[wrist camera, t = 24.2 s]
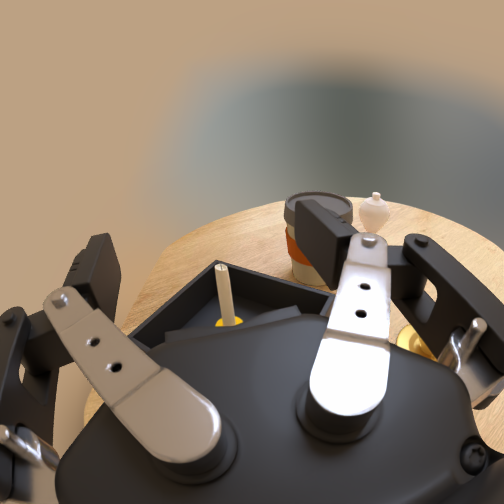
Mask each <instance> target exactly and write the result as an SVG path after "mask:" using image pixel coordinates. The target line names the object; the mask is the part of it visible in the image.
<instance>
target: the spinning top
mask: <svg viewBox="0 0 504 504" xmlns="http://www.w3.org/2000/svg"><path fill="white" fill-rule="evenodd" d="M359 216H360V219H361V222H362V224H363V226H364V227H365V229H366V231H367V232H368V233H373V234H376V233H377V232H378V231H379V230H380V229H381V228H382V227H383V226H384V225H385V224H386V222H387V221H388V219H389V216H390V210H389V207H388V205H387V204H386V202H385V201H384V200H382V199H380V193H378V192H374V193H373V197H370V198H367V199H365V200H364V201H363V202H362V203H361V205H360V207H359Z"/></svg>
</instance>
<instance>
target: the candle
mask: <svg viewBox="0 0 504 504" xmlns="http://www.w3.org/2000/svg"><path fill="white" fill-rule="evenodd" d="M215 274H216V282H217V289H218V296H219V302H220V308H221V315H222V318H221V319H219V320H218V321H217V323H216V325H215V326H234V325H237V324H240V323H242V322H243V321H242V320H241V319H240V318H238V317H236V316H235V315H234V308H233V300H232V293H231V286H230V279H229V273H228V268H227V266H226V265H224V264H221V263H220V264H217V265H215Z"/></svg>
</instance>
